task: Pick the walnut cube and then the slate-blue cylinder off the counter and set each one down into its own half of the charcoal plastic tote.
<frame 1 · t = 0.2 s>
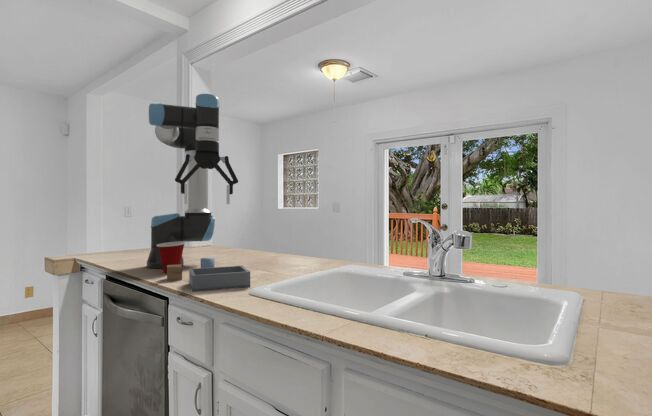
hand: (207, 204, 123), 27 cm above the worktop, tool pointing down, fingers open, 13 cm apart
walnut cube: (174, 279, 133), on the worktop
plastic cup: (170, 272, 147), on the worktop
tote: (219, 285, 123), on the worktop
slate cylinder: (207, 276, 137), on the worktop
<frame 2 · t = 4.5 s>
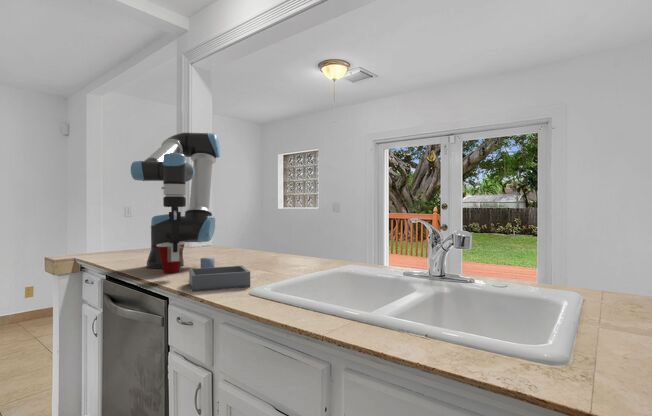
hand: (175, 259, 133), 7 cm above the worktop, tool pointing down, fingers closed on walnut cube, 5 cm apart
walnut cube: (175, 260, 133), point 7 cm above the worktop, touching gripper
everything else where it was.
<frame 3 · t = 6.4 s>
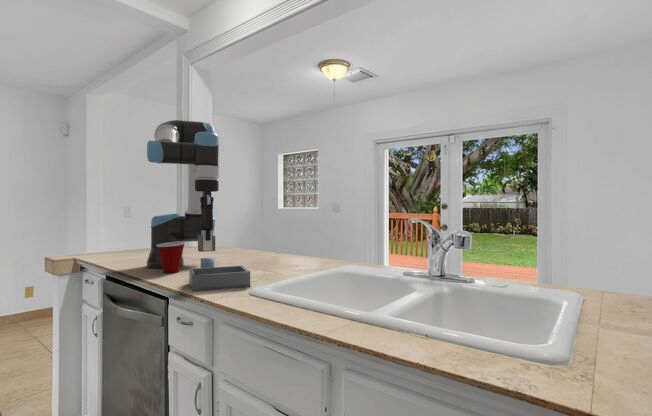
hand: (206, 249, 121), 12 cm above the worktop, tool pointing down, fingers closed on walnut cube, 5 cm apart
walnut cube: (206, 250, 121), point 12 cm above the worktop, touching gripper
everything else where it was.
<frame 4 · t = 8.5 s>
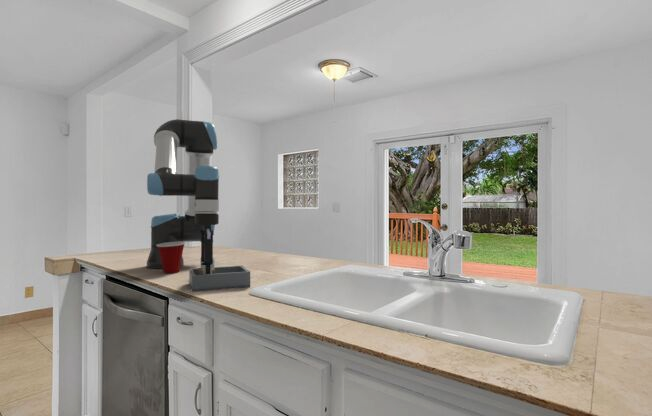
hand: (206, 282, 121), 1 cm above the worktop, tool pointing down, fingers closed on walnut cube, 5 cm apart
walnut cube: (206, 283, 121), point 1 cm above the worktop, touching gripper, tote
everything else where it was.
when the fingers open (1 cm above the worktop, at t = 8.9 s): walnut cube stays where it is, resting on tote.
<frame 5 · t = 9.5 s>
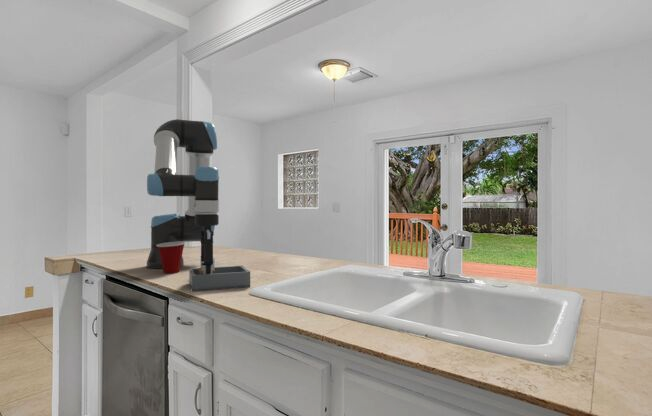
hand: (206, 282, 121), 1 cm above the worktop, tool pointing down, fingers open, 7 cm apart
walnut cube: (206, 283, 121), point 1 cm above the worktop, touching tote
everything else where it was.
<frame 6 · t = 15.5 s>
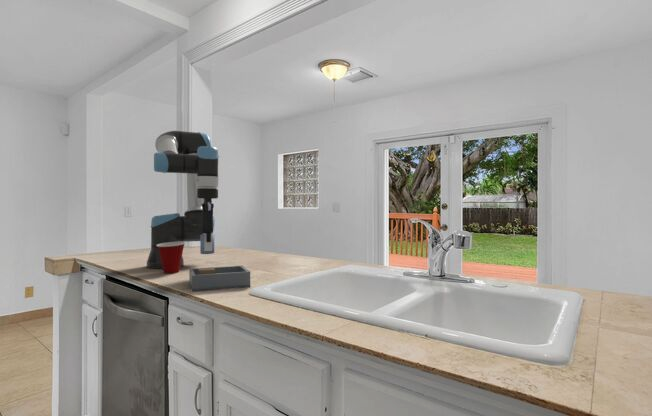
hand: (207, 249, 138), 10 cm above the worktop, tool pointing down, fingers closed on slate cylinder, 5 cm apart
slate cylinder: (207, 253, 138), point 9 cm above the worktop, touching gripper
everything else where it was.
when the fingers open (1 cm above the worktop, at t = 19.5 s): slate cylinder stays where it is, resting on tote.
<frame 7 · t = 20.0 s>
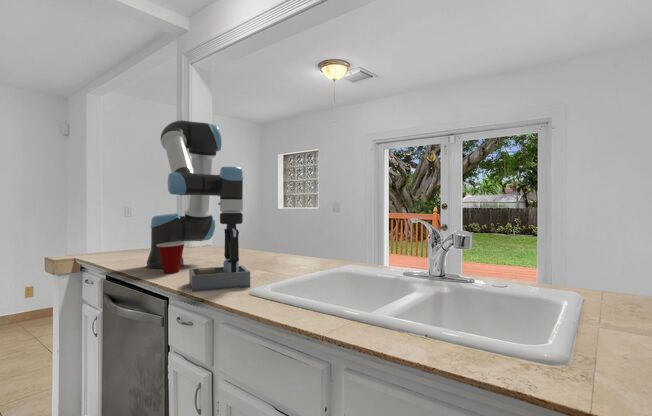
hand: (231, 279, 124), 2 cm above the worktop, tool pointing down, fingers open, 7 cm apart
slate cylinder: (231, 281, 124), point 1 cm above the worktop, touching tote
everything else where it was.
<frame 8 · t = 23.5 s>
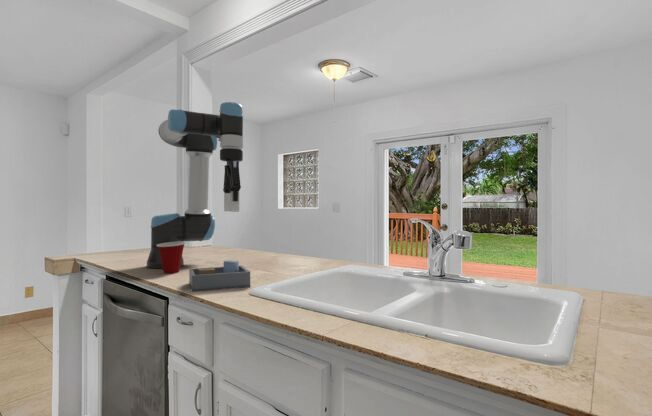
hand: (231, 211, 124), 25 cm above the worktop, tool pointing down, fingers open, 13 cm apart
nothing on the worktop moved.
at the end: walnut cube inside the target area on the tote (4.1 cm from its centre), point 0.8 cm above the tote's base; slate cylinder inside the target area on the tote (4.0 cm from its centre), point 0.8 cm above the tote's base; the gripper is holding nothing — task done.
